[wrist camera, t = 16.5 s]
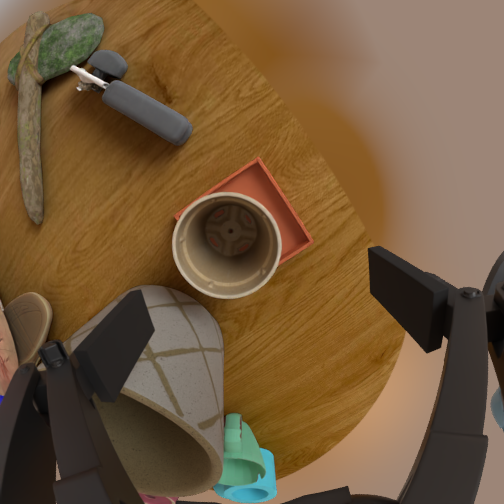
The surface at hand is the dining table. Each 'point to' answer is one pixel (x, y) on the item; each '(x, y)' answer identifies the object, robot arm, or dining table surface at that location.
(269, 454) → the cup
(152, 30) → the dining table surface
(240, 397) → the dining table surface
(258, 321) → the dining table surface
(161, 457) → the planter
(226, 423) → the mug
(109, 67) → the can opener
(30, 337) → the boat shoe
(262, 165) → the pot tray
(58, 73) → the stone axe
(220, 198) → the flower pot
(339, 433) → the dining table surface
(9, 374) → the sculpture
